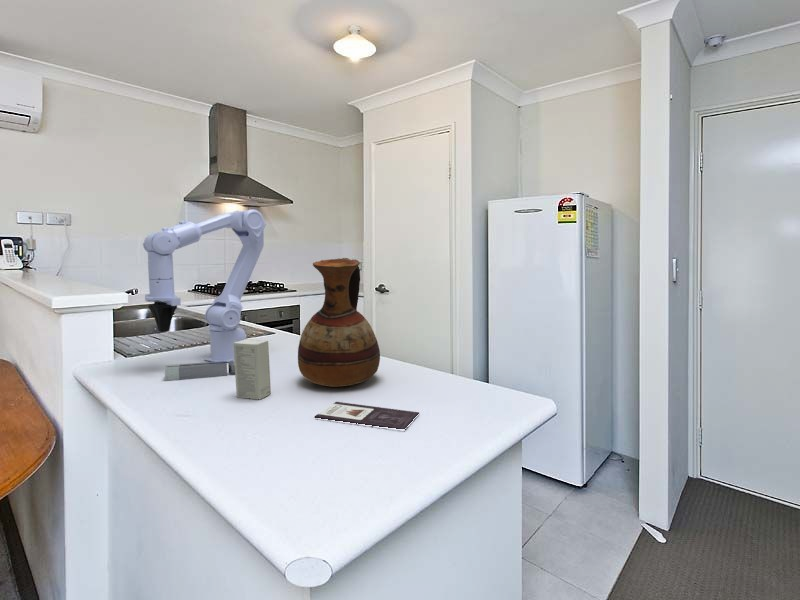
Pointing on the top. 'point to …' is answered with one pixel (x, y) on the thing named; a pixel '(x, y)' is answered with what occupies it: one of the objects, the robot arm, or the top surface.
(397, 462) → the top surface
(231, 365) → the bar
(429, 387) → the top surface
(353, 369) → the ceramic pitcher
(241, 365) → the skincare box
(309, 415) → the top surface
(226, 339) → the robot arm
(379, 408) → the chocolate bar
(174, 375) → the tongs moving leg
